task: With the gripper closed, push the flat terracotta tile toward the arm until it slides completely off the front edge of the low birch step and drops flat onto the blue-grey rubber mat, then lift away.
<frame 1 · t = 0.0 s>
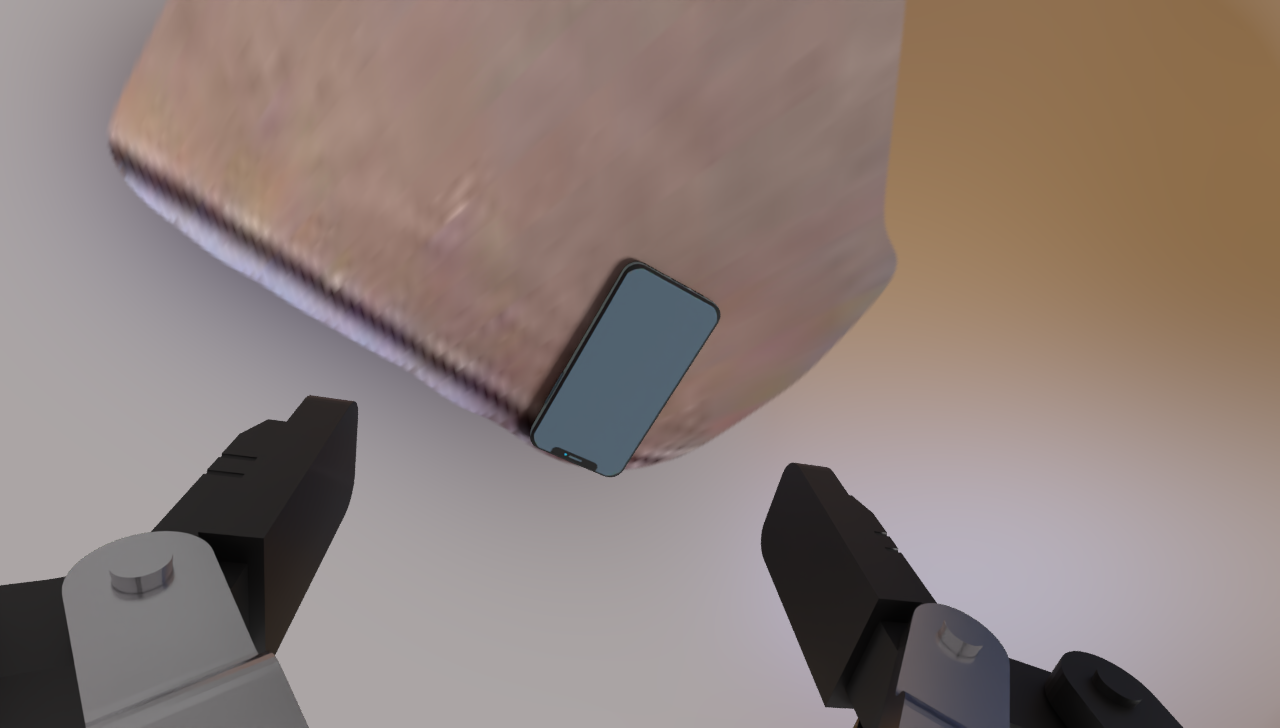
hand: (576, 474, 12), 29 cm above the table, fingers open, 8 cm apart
smartphone: (621, 368, 44), on the table
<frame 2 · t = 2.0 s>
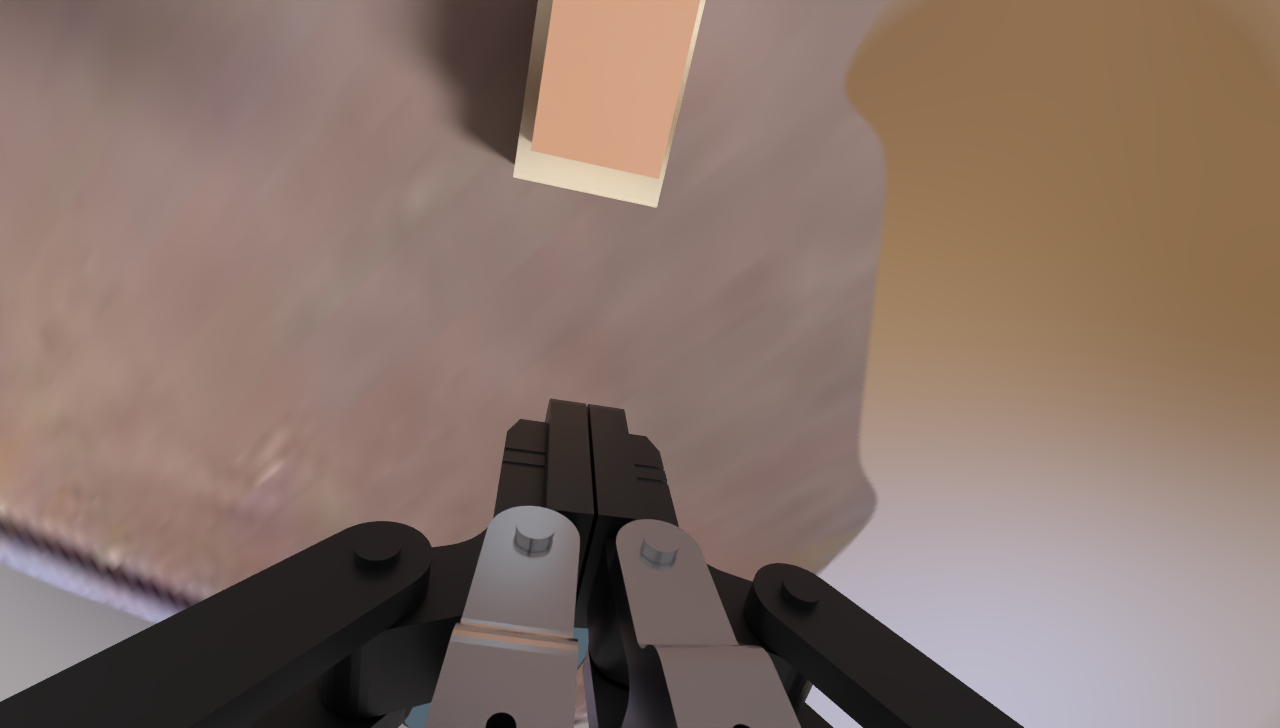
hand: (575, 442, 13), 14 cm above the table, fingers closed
tile: (608, 77, 20), point 2 cm above the table, touching deck
smartphone: (519, 625, 34), on the table
deck: (602, 82, 22), on the table
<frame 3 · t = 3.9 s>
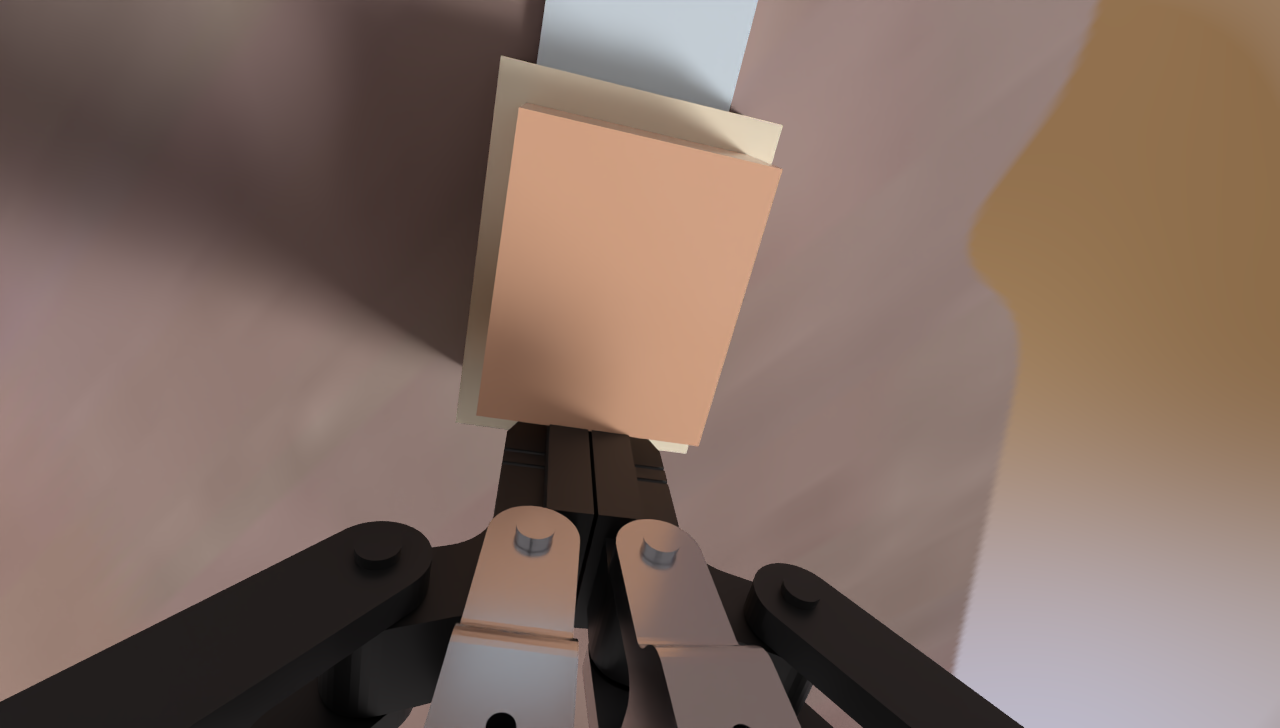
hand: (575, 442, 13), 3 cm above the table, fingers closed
tile: (611, 265, 12), point 3 cm above the table, touching gripper
deck: (600, 252, 14), on the table
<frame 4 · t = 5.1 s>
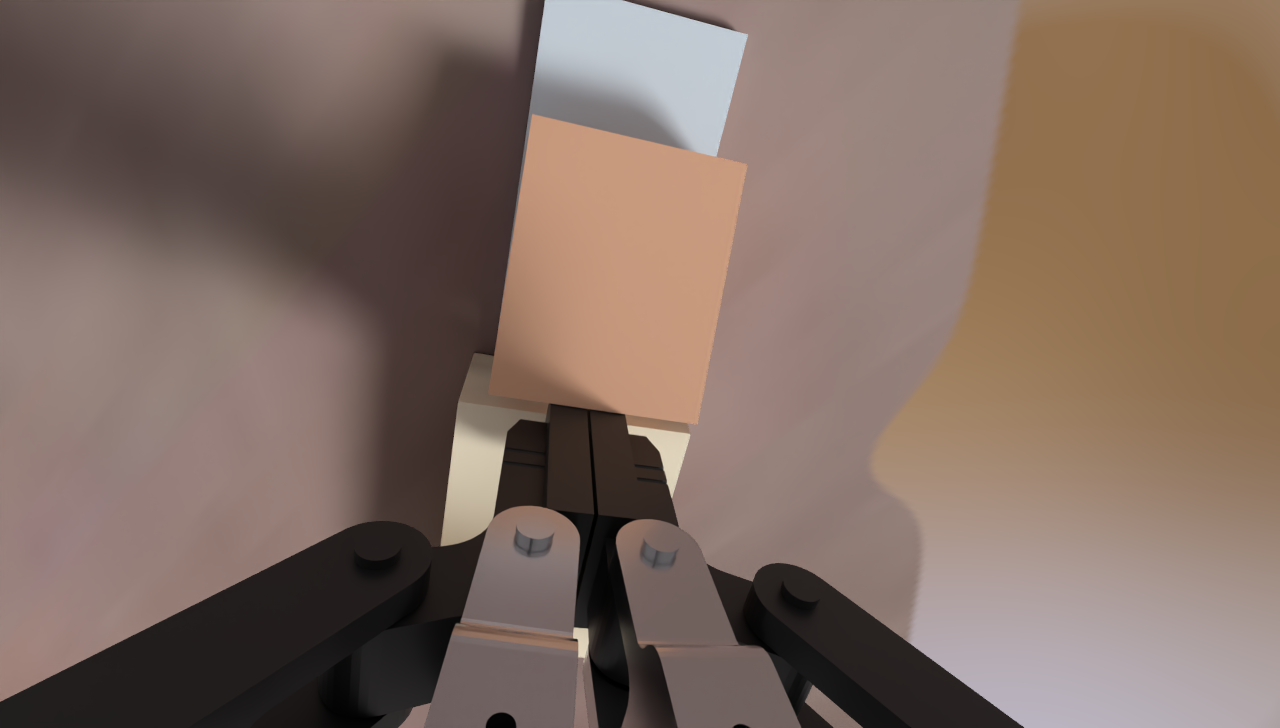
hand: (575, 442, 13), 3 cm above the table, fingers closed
tile: (606, 278, 13), point 1 cm above the table, tilted 17°, touching gripper
mat: (608, 209, 14), on the table
deck: (553, 484, 17), on the table
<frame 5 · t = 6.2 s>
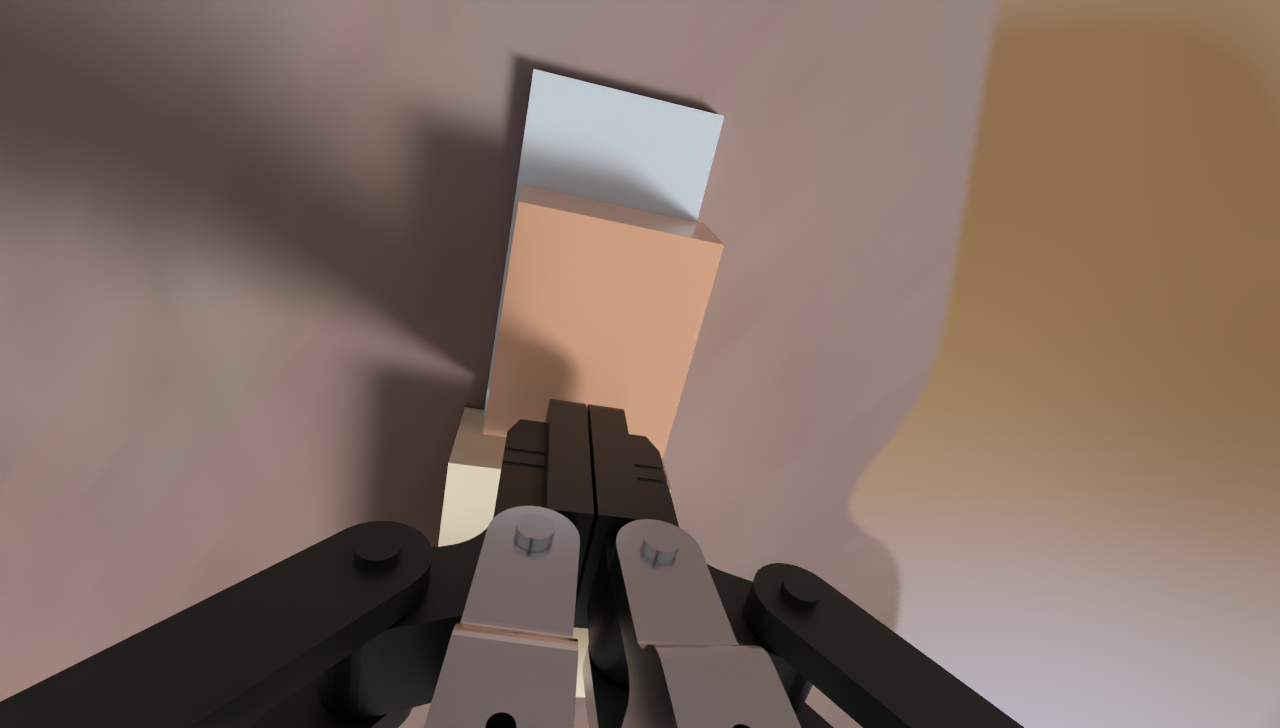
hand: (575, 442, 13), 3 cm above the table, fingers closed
tile: (593, 310, 15), resting on mat
mat: (593, 274, 15), on the table
deck: (541, 528, 17), on the table
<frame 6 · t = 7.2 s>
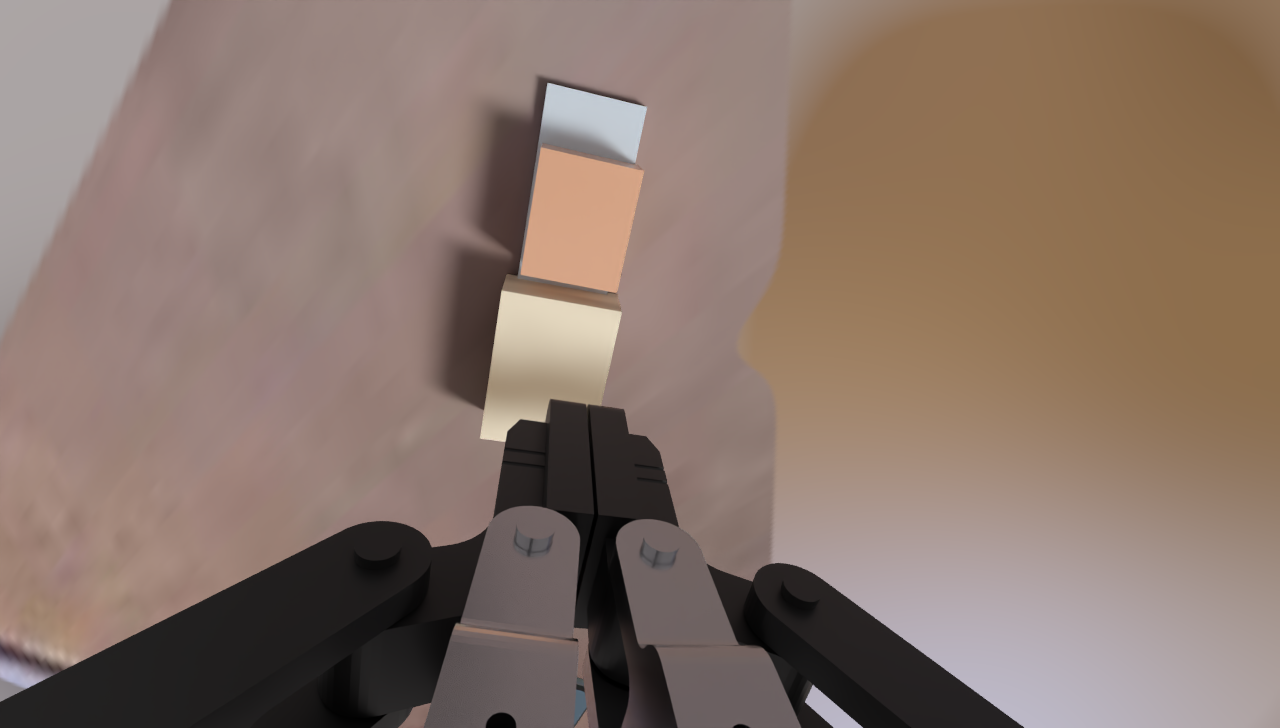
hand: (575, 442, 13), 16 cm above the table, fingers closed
tile: (579, 214, 26), resting on mat
mat: (579, 194, 26), on the table
deck: (549, 354, 29), on the table
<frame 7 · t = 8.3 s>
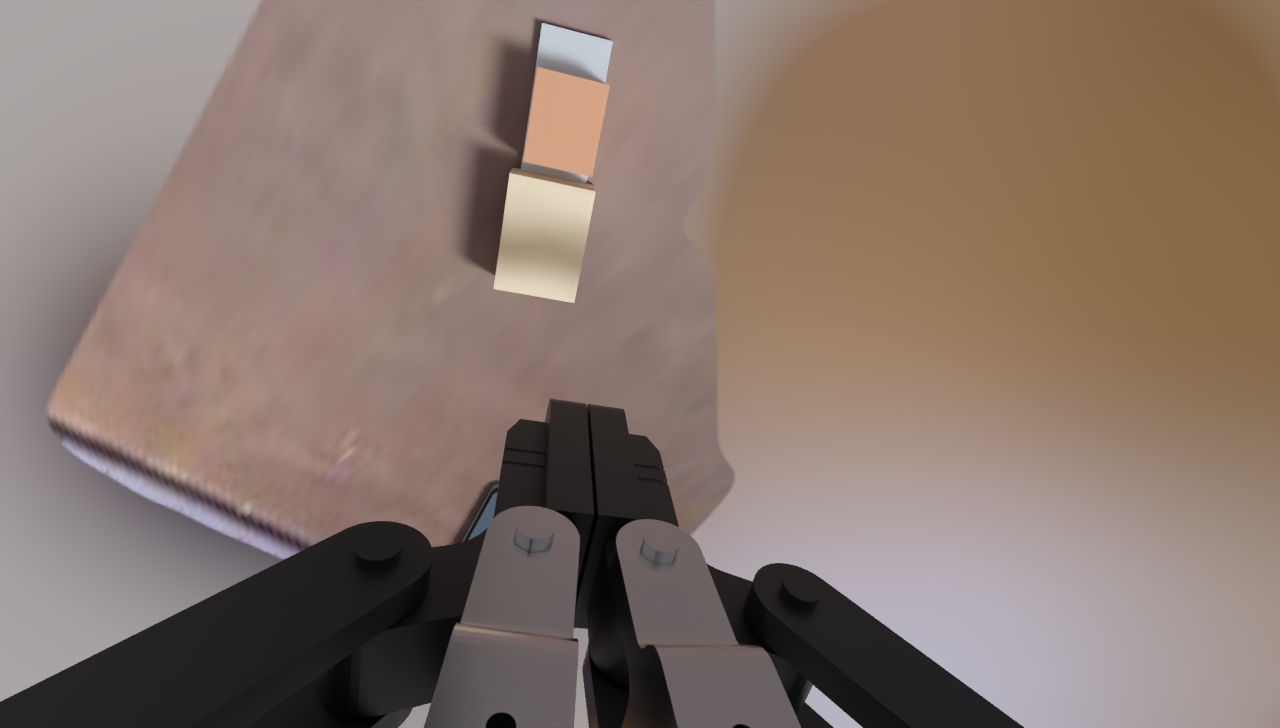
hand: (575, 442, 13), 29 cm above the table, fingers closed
tile: (565, 121, 37), resting on mat
mat: (565, 107, 37), on the table
smartphone: (501, 558, 51), on the table
deck: (544, 231, 40), on the table
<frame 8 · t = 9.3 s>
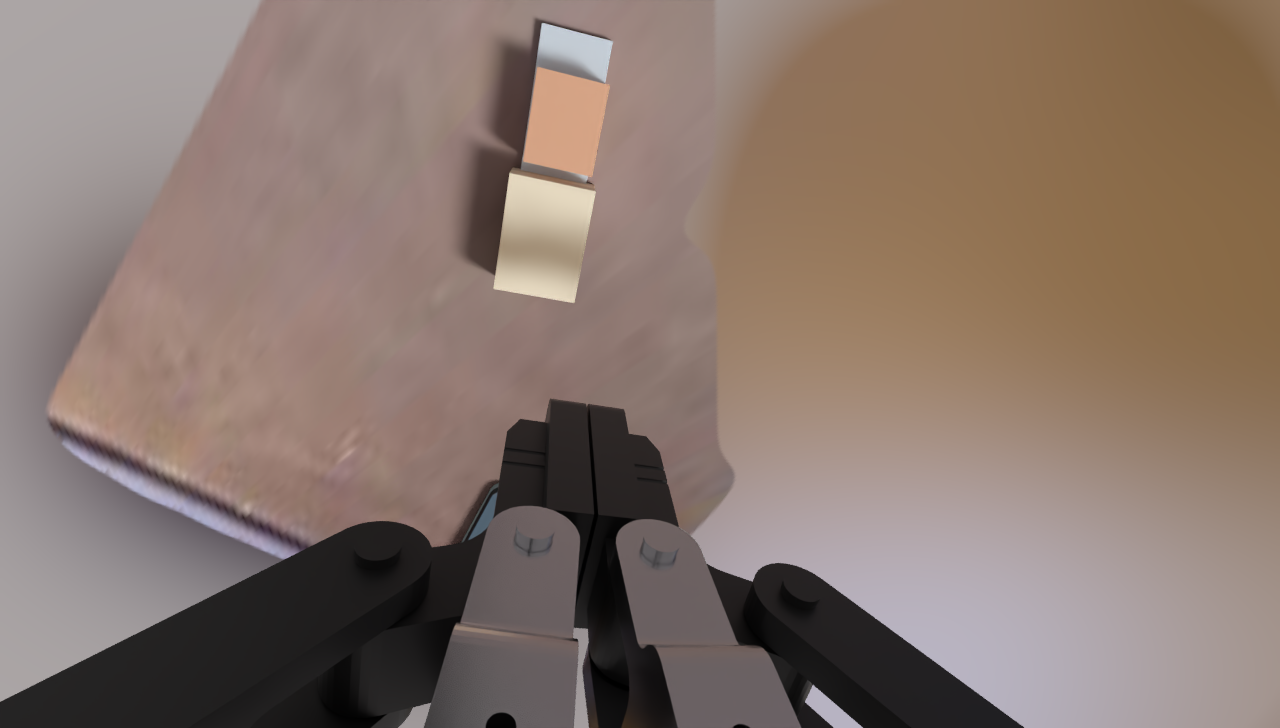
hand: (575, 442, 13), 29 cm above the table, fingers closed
tile: (565, 121, 37), resting on mat
mat: (565, 107, 37), on the table
smartphone: (501, 558, 51), on the table
deck: (544, 231, 40), on the table
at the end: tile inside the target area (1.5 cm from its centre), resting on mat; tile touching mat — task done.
